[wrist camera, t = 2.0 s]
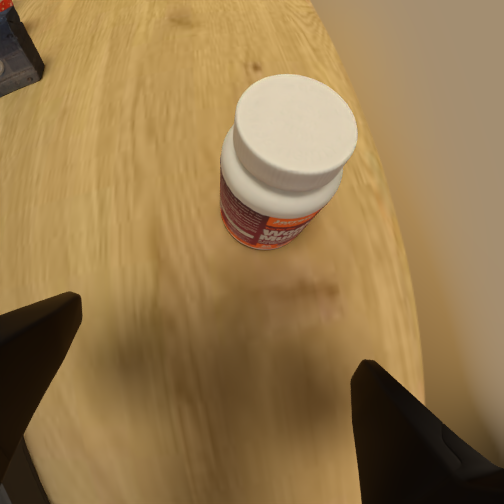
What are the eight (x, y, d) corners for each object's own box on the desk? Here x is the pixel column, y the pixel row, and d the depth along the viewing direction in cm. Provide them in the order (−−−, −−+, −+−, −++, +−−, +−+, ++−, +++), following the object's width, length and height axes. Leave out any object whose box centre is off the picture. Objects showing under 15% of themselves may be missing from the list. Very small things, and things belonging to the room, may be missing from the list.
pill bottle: (259, 269, 22) (299, 221, 11) (202, 204, 22) (189, 108, 11) (321, 215, 23) (395, 137, 12) (265, 156, 24) (297, 49, 13)
